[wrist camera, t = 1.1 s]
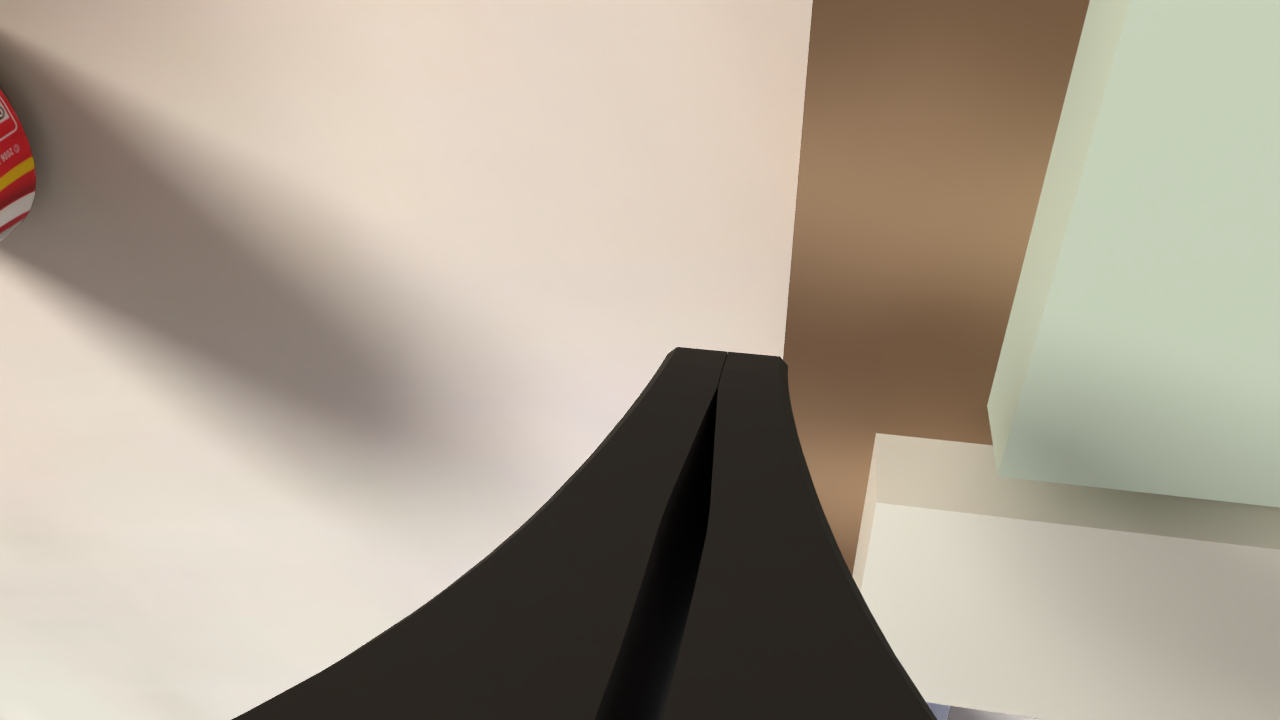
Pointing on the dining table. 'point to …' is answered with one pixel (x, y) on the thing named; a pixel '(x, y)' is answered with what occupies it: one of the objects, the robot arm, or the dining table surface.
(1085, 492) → the off-white flat block
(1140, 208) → the pale green block
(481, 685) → the robot arm
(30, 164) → the soda can
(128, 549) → the dining table surface
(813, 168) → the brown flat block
